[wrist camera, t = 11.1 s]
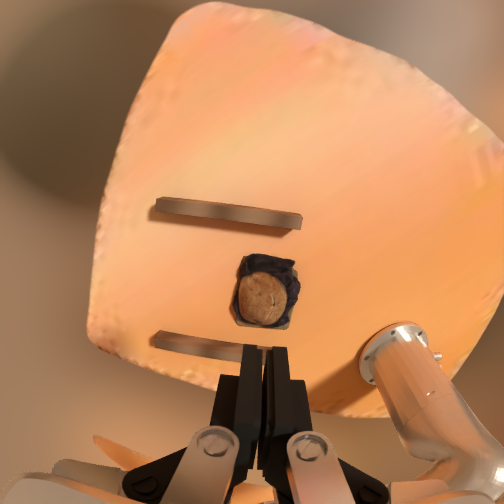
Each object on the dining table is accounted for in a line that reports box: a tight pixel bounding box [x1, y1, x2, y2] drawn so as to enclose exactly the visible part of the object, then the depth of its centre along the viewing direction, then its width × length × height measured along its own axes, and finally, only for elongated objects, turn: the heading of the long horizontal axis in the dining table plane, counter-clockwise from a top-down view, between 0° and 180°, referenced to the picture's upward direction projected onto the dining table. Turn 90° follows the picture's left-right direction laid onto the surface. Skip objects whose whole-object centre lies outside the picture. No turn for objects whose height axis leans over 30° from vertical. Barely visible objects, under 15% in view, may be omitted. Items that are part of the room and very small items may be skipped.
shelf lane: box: [155, 197, 303, 365], centre depth 36 cm, size 17×21×2 cm
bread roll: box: [233, 254, 300, 330], centre depth 36 cm, size 11×8×4 cm
